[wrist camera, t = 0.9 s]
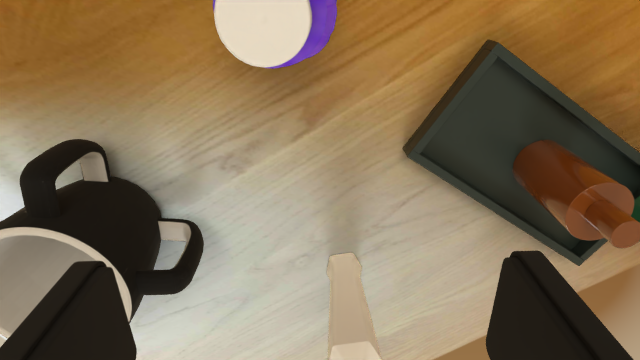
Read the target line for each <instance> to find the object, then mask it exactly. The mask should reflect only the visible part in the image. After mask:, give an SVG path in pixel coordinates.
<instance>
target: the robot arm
mask: <svg viewBox="0 0 640 360" xmlns="http://www.w3.org/2000/svg"><path fill="white" fill-rule="evenodd" d="M486 347H487V352H488V355H489V357H490V359H491V360H633V359H632V358H631V356H630V355H629V354H628V353H627V352H626V350H625V349H624V348H623V347H622V346H621V345H620V343H619V342H618V341H617V340H616V339H615V338H614V337H613V335H612V334H611V333H610V332H609V331H608V329H607V328H606V327H605V326H604V325H603V324H602V322H601V321H600V320H599V319H598V318H597V317H596V315H595V314H594V313H593V312H592V311H591V309H590V308H589V307H588V306H587V305H586V304H585V302H584V301H583V300H582V299H581V298H580V297H579V295H578V294H577V293H576V292H575V291H574V290H573V288H572V287H571V286H570V285H569V284H568V283H567V281H566V280H565V279H564V278H563V277H562V276H561V274H560V273H559V272H558V271H557V270H556V268H555V267H554V266H553V265H552V264H551V263H550V261H549V260H548V259H547V258H546V257H545V256H544V254H542V253H541V252H540V251H514V252H512V254H511V255H510V258H505V259H504V261H503V264H502V268H501V273H500V278H499V282H498V287H497V291H496V296H495V300H494V305H493V310H492V314H491V319H490V323H489V328H488V332H487V337H486ZM136 353H137V352H136V345H135V342H134V338H133V335H132V332H131V328H130V325H129V321H128V318H127V315H126V311H125V308H124V304H123V301H122V298H121V294H120V291H119V287H118V284H117V281H116V277H115V274H114V271H113V269H112V268H111V267H107V266H106V264H105V263H104V262H103V261H77V262H74V263H73V264H72V265H71V266H70V267H69V268H68V270H67V271H66V272H65V273H64V274H63V275H62V277H61V278H60V279H59V280H58V281H57V282H56V284H55V285H54V286H53V287H52V288H51V289H50V290H49V292H48V293H47V294H46V295H45V296H44V297H43V299H42V300H41V301H40V302H39V303H38V304H37V306H36V307H35V308H34V309H33V310H32V311H31V313H30V314H29V315H28V316H27V317H26V318H25V319H24V321H23V322H22V323H21V324H20V325H19V326H18V328H17V329H16V330H15V331H14V332H13V333H12V335H11V336H10V337H9V338H8V339H7V340H6V342H5V343H4V344H3V345H2V346H1V347H0V360H136Z"/></svg>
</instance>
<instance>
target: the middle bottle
mask: <svg viewBox="0 0 640 360" xmlns="http://www.w3.org/2000/svg"><path fill="white" fill-rule="evenodd" d="M513 175H514V178H515V180H516V181H517V182H518V183H519V184H520V185H521V186H522V187H523V188H524V189H525V190H526V191H527V192H528V193H529V194H530V195H531V196H532V197H533V198H534V199H535V200H536V201H537V202H538V203H539V204H540V205H541V206H542V207H543V208H544V209H546V210H547V211H548V212H549V213H550V214H551V215H552V216H553V217H554V218H555V219H556V220H557V221H558V222H559V223H560V224H561V225H562V226H563V227H564V228H565V229H566V230H567V231H568V232H569V233H570V234H571V235H573V236H574V237H576V238H578V239H582V240H598V239H602V238H606V239H607V240H608V241H609V242H610V243H611V244H612V245H614V246H615V247H618V248H627V247H630V246H633V245H634V244H636V243H637V242H638V241H640V222H638V221H637V220H636V219H634V218H633V217H632V216H631V214H632V212H633V209H634V198H633V195H632V193H631V191H630V190H629V189H628V188H627V187H625V186H624V185H622V184H621V183H619V182H618V181H616V180H614V179H613V178H611V177H610V176H608V175H607V174H605V173H604V172H602V171H601V170H599V169H597V168H596V167H594V166H593V165H591V164H590V163H588V162H587V161H585V160H584V159H582V158H580V157H579V156H577V155H576V154H574V153H573V152H571V151H570V150H568V149H566V148H565V147H563V146H562V145H560V144H559V143H557V142H555V141H551V140H540V141H536V142H534V143H531V144H529V145H528V146H526V147H525V148H524V149H523V150H522V151H521V152H520V153H519V154H518V155H517V157H516V159H515V161H514V164H513Z"/></svg>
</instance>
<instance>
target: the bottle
mask: <svg viewBox="0 0 640 360" xmlns="http://www.w3.org/2000/svg"><path fill="white" fill-rule="evenodd" d="M336 2H337V0H213V9H214V18H215V25H216V29H217V32H218V34H219V37H220V39H221V40H222V42H223V44H224V45H225V46H226V48H227V49H228V50H229V51H230V52H231V53H232V54H233V55H234V56H235V57H236V58H238V59H239V60H241V61H243V62H245V63H247V64H249V65H252V66H257V67H264V68H272V69H273V68H280V67H285V66H290V65H293V64H296V63H298V62H300V61H302V60H304V59H305V58H309V57H312V56H314V55H315V54H317V53H318V52H320V51H321V50H322V49H323V48H324V46H325V45H326V44H327V42H328V41H329V38H330V34H331V33H332V32H333V30H334V26H335V21H336V16H337V7H336Z"/></svg>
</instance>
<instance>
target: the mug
mask: <svg viewBox="0 0 640 360" xmlns="http://www.w3.org/2000/svg"><path fill="white" fill-rule="evenodd" d="M78 160H79V161H80V165H81V169H82V173H83V178H84V179H83V180H80V181H77V182H74V183H72V184H69V185H67V186H64V187H62V188H59V189H57V190H56V187H55V181H56V179H57V177H58V176H59V175H60V174H61V173H62V172H63V171H64V170H65V169H67V168H68V167H69V166H70V165H72V164H73V163H75V162H76V161H78ZM20 187H21V191H22V196H23V201H24V205H25V207H24V208H22V209H21V210H19V211H17V212H16V213H14V214H13V215H11V216H10V217H8V218H6V219H5V220H3V221H1V222H0V334H1V335H3V336H5V337H6V338H9V337H10V336H11V335H12V333H13V332H14V331H15V330H16V329H17V328H18V326H19V325H20V324H21V323H22V322H23V321H24V319H25V318H26V317H27V316H28V315H29V314H30V313H31V311H32V310H33V309H34V308H35V307H36V306H37V304H38V303H39V302H40V301H41V300H42V299H43V297H44V296H45V295H46V294H47V293H48V292H49V290H50V289H51V288H52V287H53V286H54V285H55V284H56V282H57V281H58V280H59V279H60V278H61V277H62V275H63V274H64V273H65V272H66V271H67V270H68V268H69V267H70V266H71V265H72V264H73V263H74V262H77V261H103V262H104V263H105V264H106V266H107V267H111V268H112V269H113V271H114V274H115V277H116V281H117V284H118V287H119V291H120V294H121V298H122V301H123V304H124V308H125V311H126V315H127V318H128V321H129V324H130V322H131V320H132V318H133V316H134V314H135V312H136V311H137V309H138V307H139V305H140V302H141V300H142V298H143V295H167V294H176V293H178V292H180V291H182V290H183V289H184V288H186V287H187V286H188V285H189V284H190V282H191V281H192V278H193V276H194V274H195V272H196V269H197V267H198V265H199V262H200V259H201V256H202V253H203V246H204V242H203V237H202V234H201V231H200V229H199V228H198V226H197V225H196V224H195V223H193V222H191V221H189V220H183V219H168V218H161V215H160V212H159V209H158V208H157V206H156V204H155V202H154V201H153V199H152V198H151V197H150V196H149V195H148V194H147V193H146V192H145V191H144V190H142V189H141V188H140V187H138V186H137V185H135V184H133V183H131V182H129V181H127V180H123V179H120V178H116V177H111V176H110V171H109V166H108V161H107V157H106V154H105V151H104V150H103V148H102V147H101V146H100V145H98V144H97V143H95V142H92V141H88V140H82V139H74V140H68V141H64V142H62V143H60V144H57V145H56V146H54V147H52V148H50V149H48V150H47V151H45V152H44V153H42V154H41V155H39V156H38V157H36V158H35V159H33V160H32V161H30V162H29V163H28V164H27V165H26V167H25V168H24V170H23V171H22V173H21V176H20ZM161 240H175V241H185V242H187V243H186V246H185V249H184V251H183V253H182V255H181V257H180V259H179V261H178V262H177V264H176V265H175V267H174V268H172V269H170V270H153V269H154V266H155V262H156V259H157V256H158V253H159V248H160V243H161Z"/></svg>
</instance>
